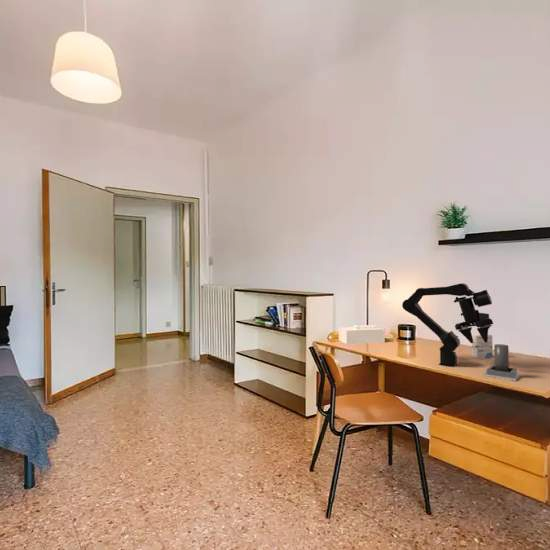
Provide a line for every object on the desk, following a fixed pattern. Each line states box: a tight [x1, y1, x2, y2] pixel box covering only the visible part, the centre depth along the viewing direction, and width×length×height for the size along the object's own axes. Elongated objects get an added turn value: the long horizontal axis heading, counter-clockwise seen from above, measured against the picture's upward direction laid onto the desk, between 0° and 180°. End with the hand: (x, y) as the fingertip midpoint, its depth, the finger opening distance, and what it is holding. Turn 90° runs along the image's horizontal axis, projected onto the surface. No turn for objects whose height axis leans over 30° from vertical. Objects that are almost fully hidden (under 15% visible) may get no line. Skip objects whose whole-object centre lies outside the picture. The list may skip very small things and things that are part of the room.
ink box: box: [471, 333, 493, 359], centre depth 204 cm, size 9×5×12 cm, turn 92°
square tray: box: [482, 364, 522, 382], centre depth 168 cm, size 12×11×3 cm
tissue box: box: [338, 324, 386, 345], centre depth 252 cm, size 14×25×11 cm, turn 100°
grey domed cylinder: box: [493, 343, 510, 372], centre depth 168 cm, size 5×5×12 cm
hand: (479, 342), depth 181 cm, fingers open, 9 cm apart
